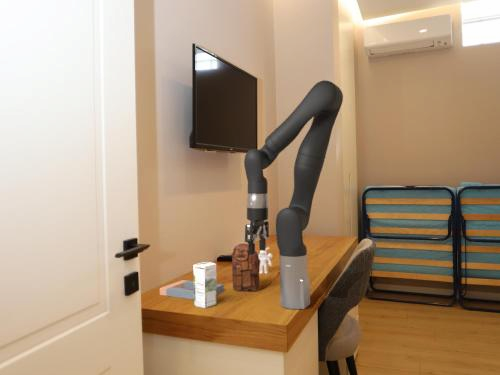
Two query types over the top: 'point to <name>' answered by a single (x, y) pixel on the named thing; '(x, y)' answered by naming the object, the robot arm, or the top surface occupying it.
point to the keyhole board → (183, 289)
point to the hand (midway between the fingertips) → (257, 252)
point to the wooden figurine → (245, 269)
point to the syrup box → (205, 284)
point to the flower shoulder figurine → (264, 260)
